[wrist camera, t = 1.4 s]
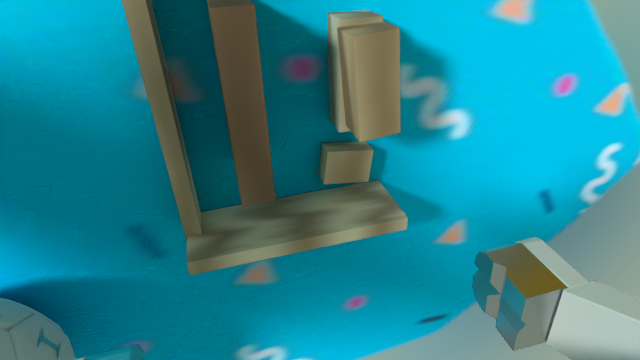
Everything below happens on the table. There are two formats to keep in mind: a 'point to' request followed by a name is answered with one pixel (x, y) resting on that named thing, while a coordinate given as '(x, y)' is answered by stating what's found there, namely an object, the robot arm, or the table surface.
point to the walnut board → (243, 97)
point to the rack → (257, 220)
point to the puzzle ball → (30, 335)
